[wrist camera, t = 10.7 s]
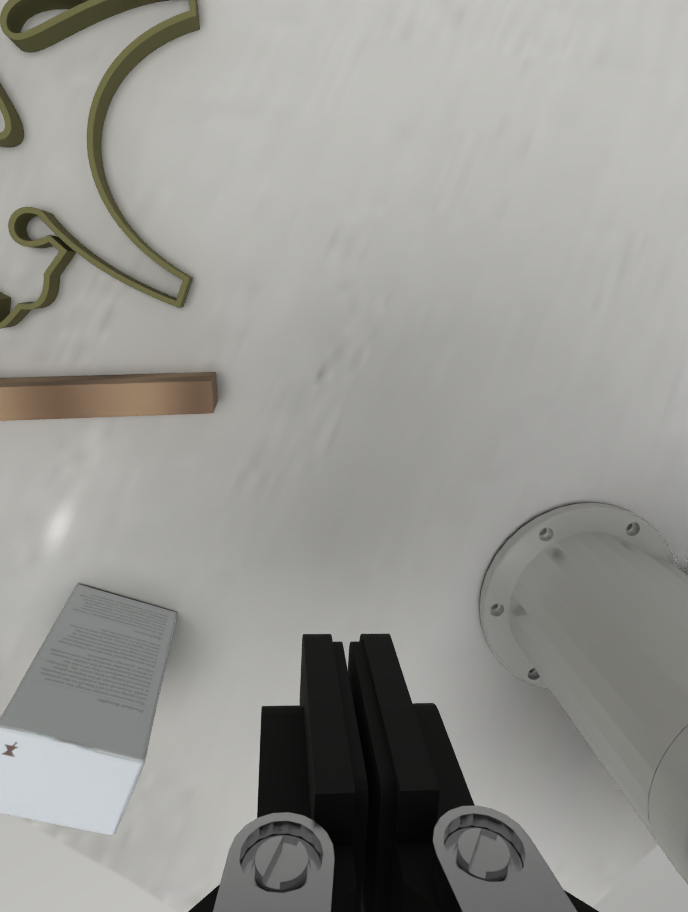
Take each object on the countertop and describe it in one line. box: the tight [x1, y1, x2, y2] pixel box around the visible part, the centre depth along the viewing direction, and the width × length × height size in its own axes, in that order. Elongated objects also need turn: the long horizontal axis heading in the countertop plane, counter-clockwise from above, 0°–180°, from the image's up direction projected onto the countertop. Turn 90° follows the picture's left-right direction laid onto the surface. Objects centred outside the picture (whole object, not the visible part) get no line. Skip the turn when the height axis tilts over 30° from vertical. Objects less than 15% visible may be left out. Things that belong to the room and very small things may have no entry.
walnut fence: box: [0, 372, 217, 421], centre depth 29 cm, size 15×23×3 cm, turn 1°
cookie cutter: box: [0, 0, 200, 329], centre depth 29 cm, size 18×12×2 cm, turn 174°
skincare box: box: [0, 584, 177, 836], centre depth 31 cm, size 6×4×12 cm
